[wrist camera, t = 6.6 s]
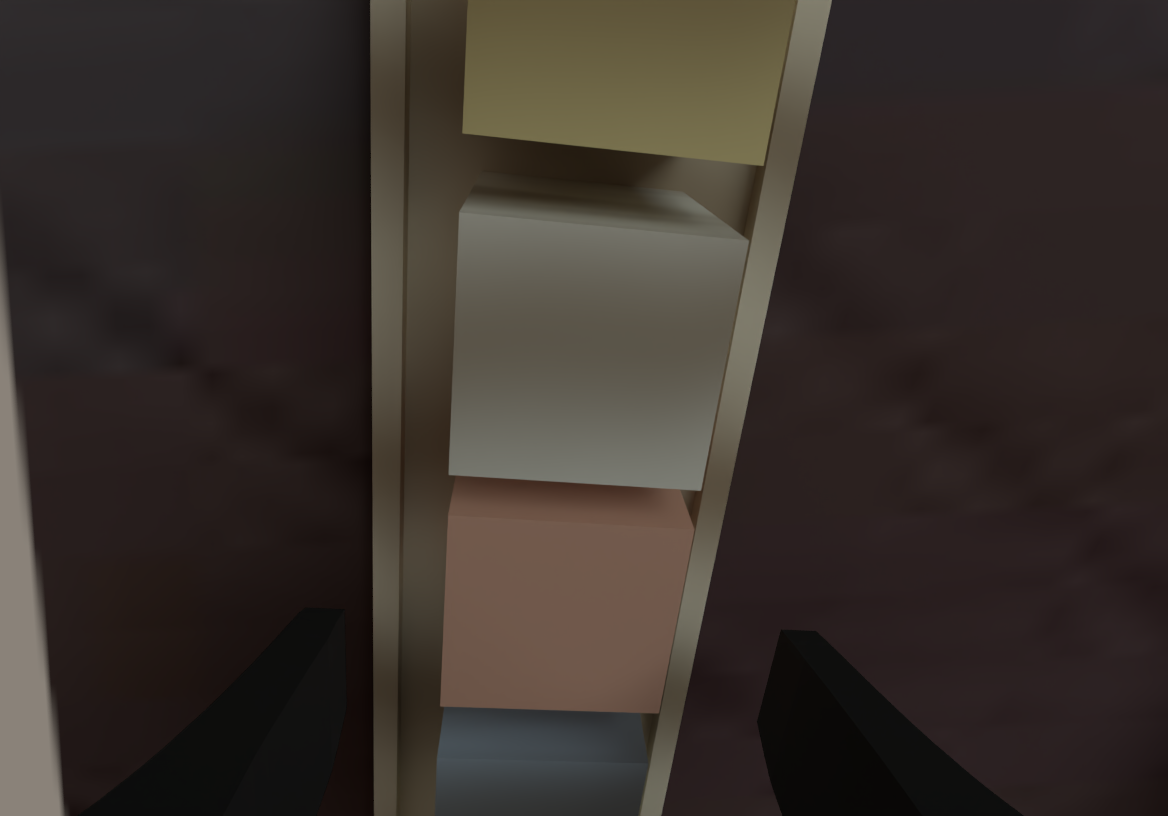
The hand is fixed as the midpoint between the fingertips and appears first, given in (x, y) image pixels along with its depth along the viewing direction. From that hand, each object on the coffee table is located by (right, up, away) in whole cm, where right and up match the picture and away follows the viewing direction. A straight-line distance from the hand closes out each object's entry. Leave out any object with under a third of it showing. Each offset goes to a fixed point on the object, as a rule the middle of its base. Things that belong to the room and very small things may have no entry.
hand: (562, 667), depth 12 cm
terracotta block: (0, +3, +5) cm, 6 cm away
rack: (0, +3, +6) cm, 6 cm away
